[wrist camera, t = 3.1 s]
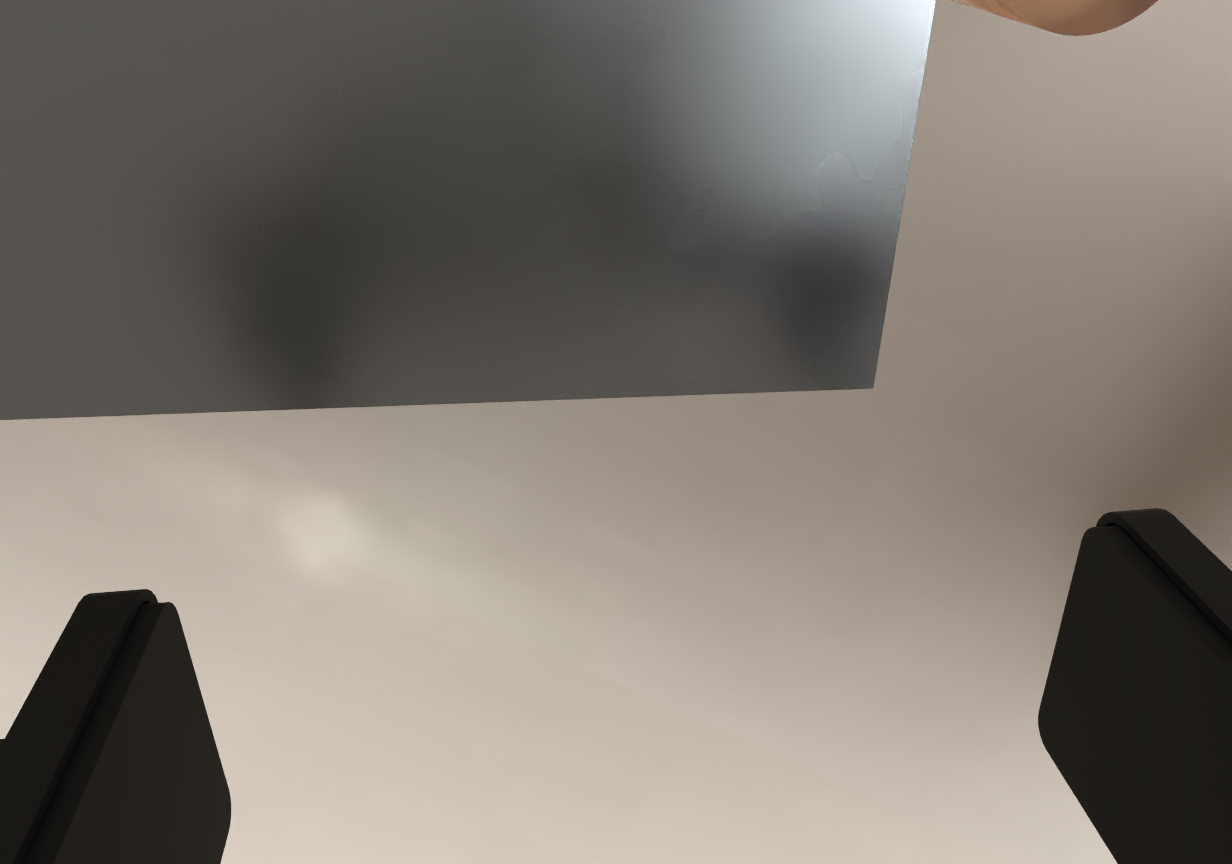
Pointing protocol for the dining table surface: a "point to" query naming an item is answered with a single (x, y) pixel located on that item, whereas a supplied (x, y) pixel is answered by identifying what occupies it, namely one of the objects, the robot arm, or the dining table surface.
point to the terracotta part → (1066, 13)
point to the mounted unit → (446, 199)
